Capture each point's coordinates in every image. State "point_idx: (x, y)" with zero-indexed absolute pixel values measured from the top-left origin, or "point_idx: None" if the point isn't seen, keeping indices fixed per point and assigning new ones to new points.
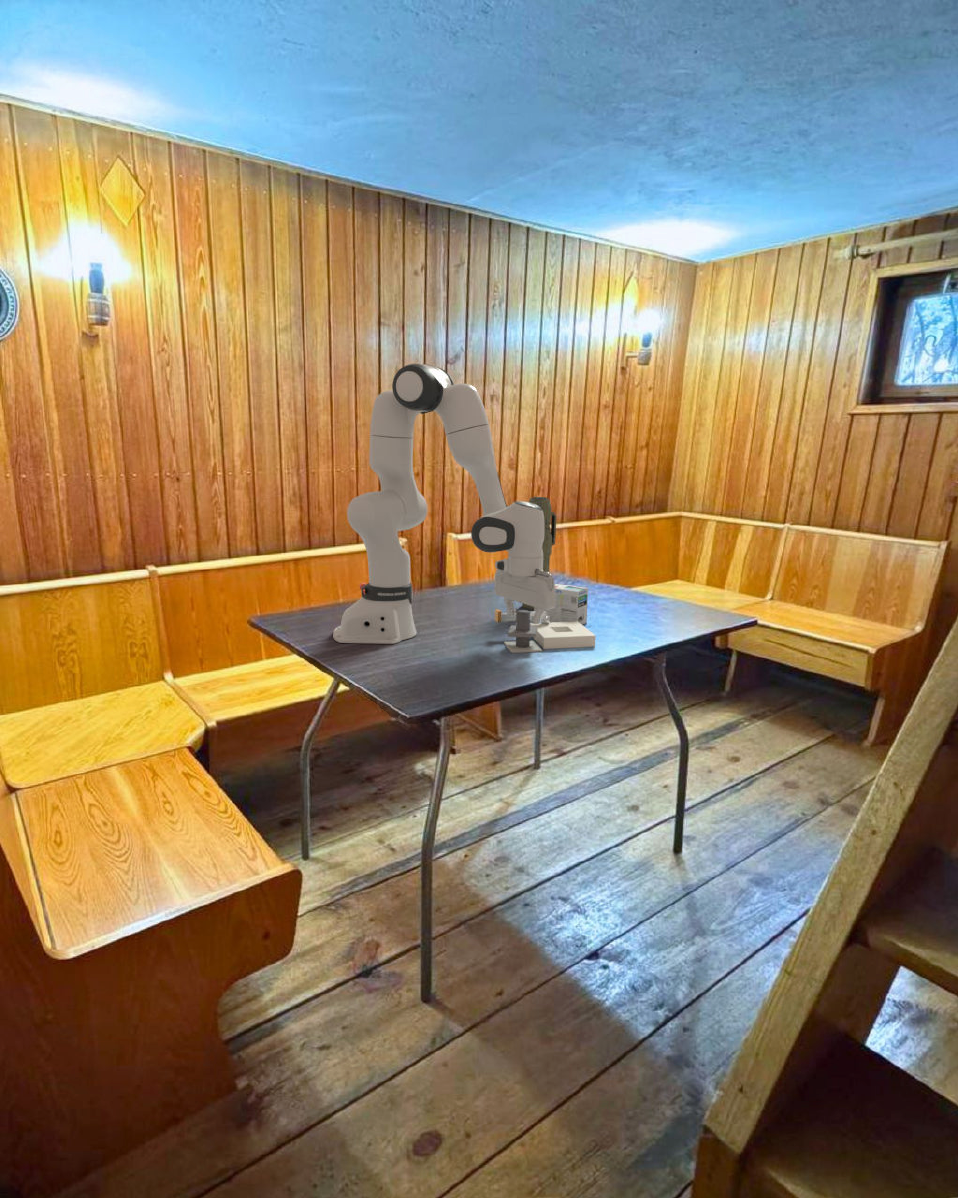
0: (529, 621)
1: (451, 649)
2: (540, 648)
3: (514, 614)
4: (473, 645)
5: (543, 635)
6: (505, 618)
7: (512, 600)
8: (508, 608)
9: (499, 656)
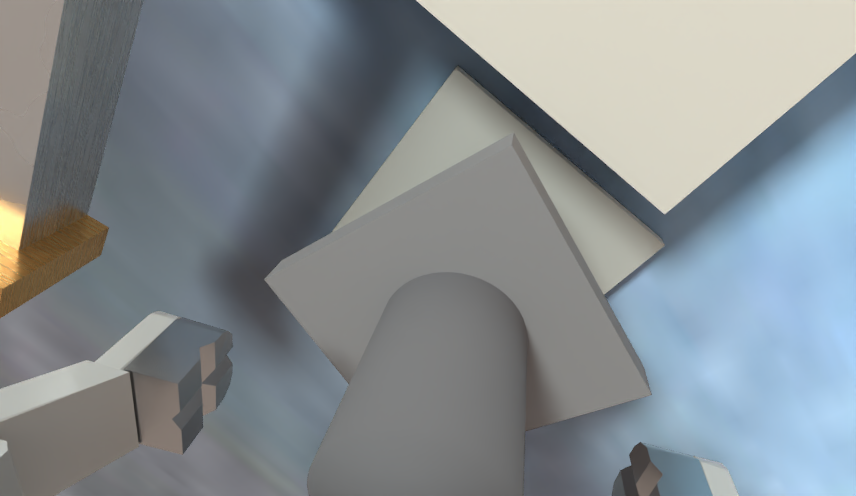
0: (525, 405)
1: (219, 477)
2: (637, 230)
3: (224, 345)
4: None
5: (616, 144)
6: (74, 185)
7: (1, 485)
8: (129, 447)
9: None
